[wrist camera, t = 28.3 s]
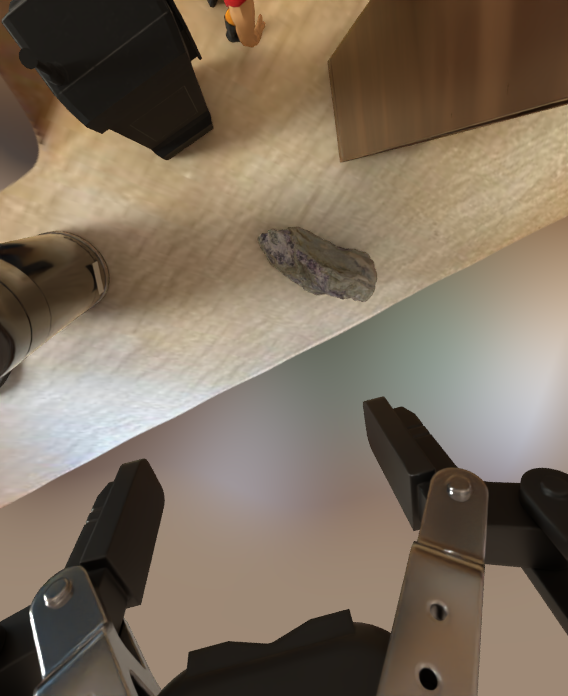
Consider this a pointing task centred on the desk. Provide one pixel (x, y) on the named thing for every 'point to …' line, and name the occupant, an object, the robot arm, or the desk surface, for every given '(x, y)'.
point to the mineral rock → (320, 264)
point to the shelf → (445, 69)
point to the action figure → (242, 22)
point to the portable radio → (117, 66)
